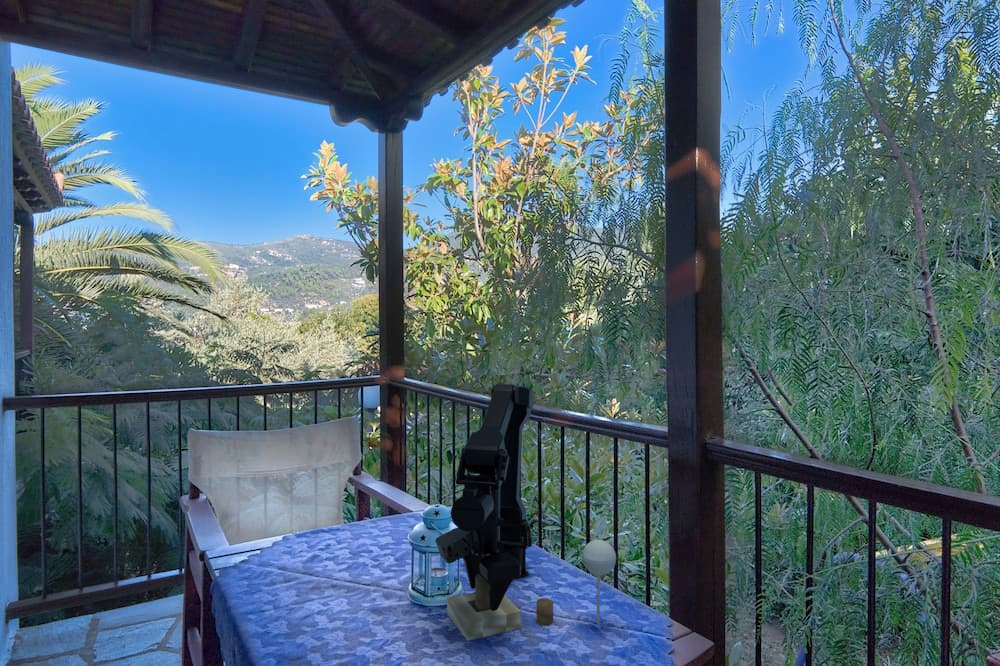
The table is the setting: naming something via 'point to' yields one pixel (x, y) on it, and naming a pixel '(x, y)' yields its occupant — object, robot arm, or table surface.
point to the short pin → (544, 611)
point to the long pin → (481, 595)
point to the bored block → (482, 617)
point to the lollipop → (599, 563)
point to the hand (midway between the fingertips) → (483, 598)
